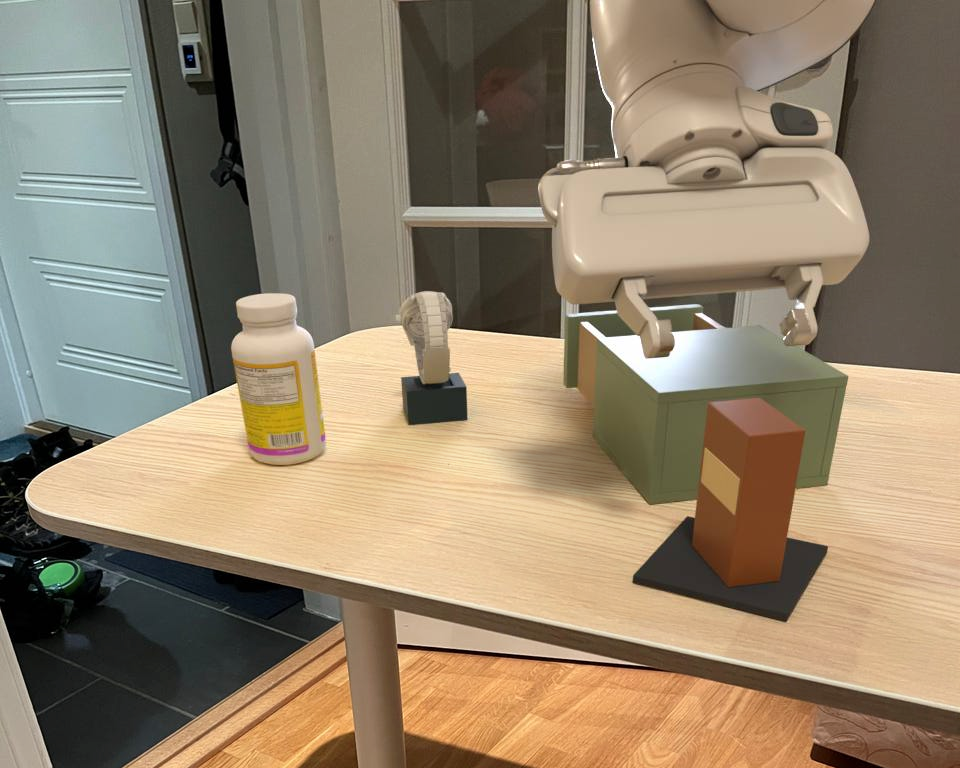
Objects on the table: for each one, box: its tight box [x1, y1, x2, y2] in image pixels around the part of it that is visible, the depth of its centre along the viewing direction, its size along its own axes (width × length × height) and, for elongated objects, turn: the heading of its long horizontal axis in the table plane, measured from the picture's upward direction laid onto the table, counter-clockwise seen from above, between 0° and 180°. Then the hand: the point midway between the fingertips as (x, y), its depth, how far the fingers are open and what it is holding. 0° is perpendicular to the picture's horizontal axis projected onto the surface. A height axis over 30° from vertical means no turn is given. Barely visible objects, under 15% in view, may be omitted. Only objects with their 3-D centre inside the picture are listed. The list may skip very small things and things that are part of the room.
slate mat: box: [632, 515, 829, 622], centre depth 62 cm, size 10×10×1 cm
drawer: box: [562, 303, 726, 408], centre depth 87 cm, size 18×13×7 cm
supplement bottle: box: [230, 292, 327, 466], centre depth 78 cm, size 7×7×13 cm
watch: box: [395, 290, 468, 426], centre depth 85 cm, size 6×8×11 cm
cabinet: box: [592, 324, 849, 505], centre depth 75 cm, size 15×15×9 cm
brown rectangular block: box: [692, 398, 806, 587], centre depth 59 cm, size 6×4×10 cm, turn 11°
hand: (732, 347), depth 58 cm, fingers open, 8 cm apart
